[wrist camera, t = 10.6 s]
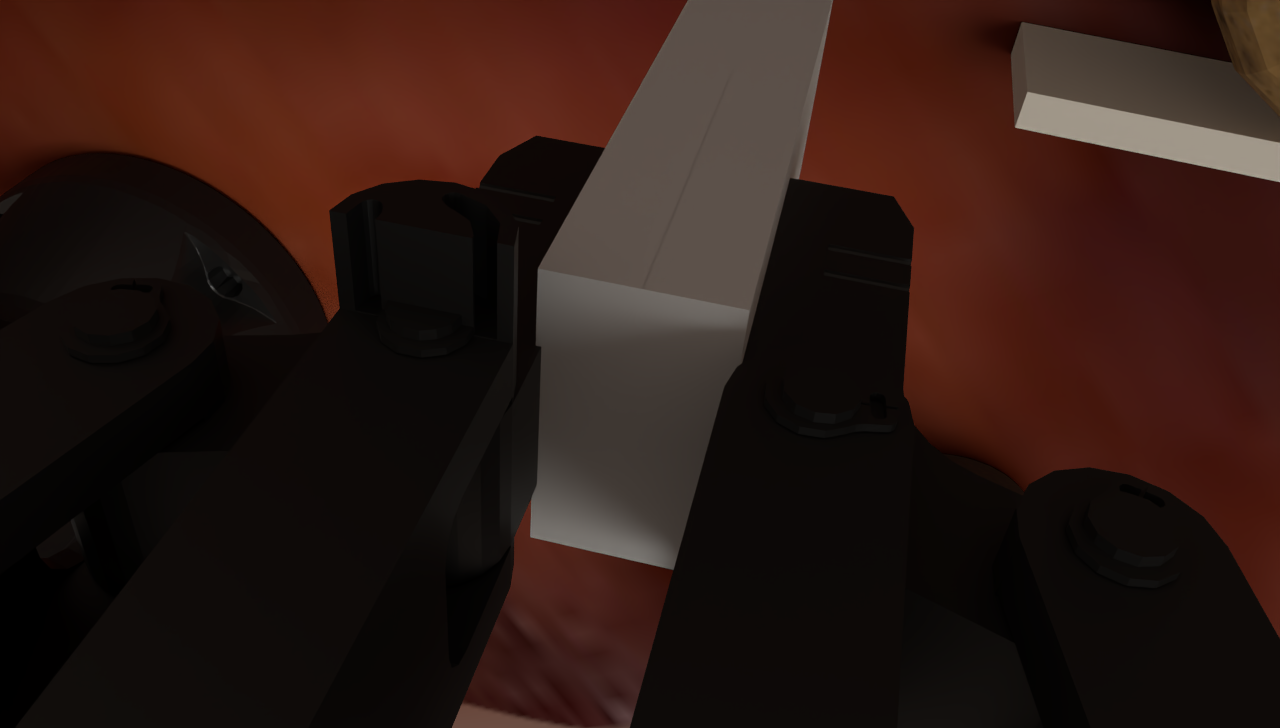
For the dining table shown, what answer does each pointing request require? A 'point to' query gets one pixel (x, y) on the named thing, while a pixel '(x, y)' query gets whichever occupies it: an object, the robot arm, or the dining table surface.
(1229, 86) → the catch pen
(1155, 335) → the dining table surface
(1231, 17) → the potato
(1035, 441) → the dining table surface
